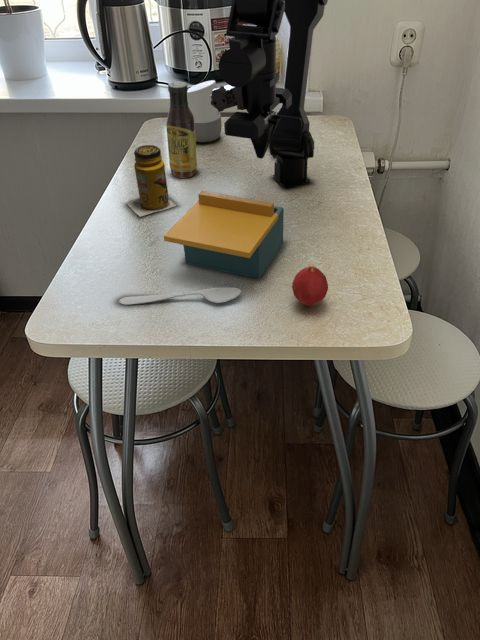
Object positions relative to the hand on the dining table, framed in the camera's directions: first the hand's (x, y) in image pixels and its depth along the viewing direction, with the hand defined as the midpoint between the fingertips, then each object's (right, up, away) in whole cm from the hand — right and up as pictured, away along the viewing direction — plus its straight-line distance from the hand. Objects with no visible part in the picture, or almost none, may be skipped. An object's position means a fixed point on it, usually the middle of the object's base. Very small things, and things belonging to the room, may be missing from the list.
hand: (260, 157), depth 110 cm
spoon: (-14, -28, -11) cm, 33 cm away
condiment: (-23, -6, +14) cm, 28 cm away
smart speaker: (-15, +18, +41) cm, 47 cm away
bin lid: (-7, -16, -9) cm, 19 cm away
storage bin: (-5, -18, -1) cm, 19 cm away
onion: (+8, -29, -13) cm, 33 cm away
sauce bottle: (-18, +4, +25) cm, 31 cm away
